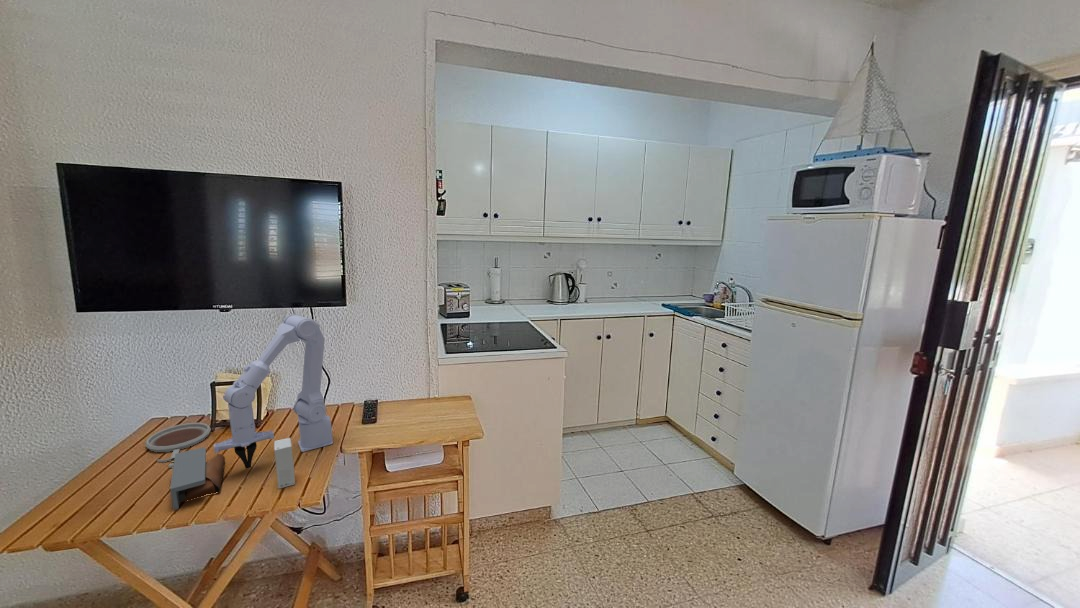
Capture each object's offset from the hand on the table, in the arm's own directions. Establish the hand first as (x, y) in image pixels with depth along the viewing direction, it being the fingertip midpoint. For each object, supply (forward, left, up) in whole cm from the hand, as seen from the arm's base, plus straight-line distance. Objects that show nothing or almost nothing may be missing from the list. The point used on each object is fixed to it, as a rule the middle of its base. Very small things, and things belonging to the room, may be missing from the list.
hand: (248, 466), depth 128 cm
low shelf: (+13, 0, -1) cm, 13 cm away
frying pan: (+18, -28, -2) cm, 33 cm away
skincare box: (-8, +12, -2) cm, 15 cm away
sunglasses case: (+10, -1, -2) cm, 10 cm away
